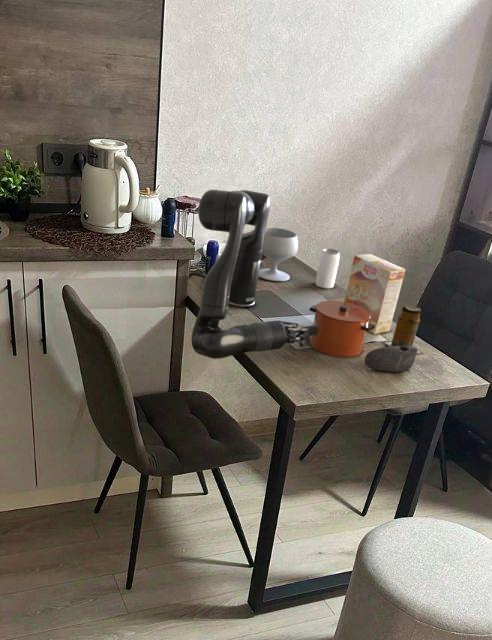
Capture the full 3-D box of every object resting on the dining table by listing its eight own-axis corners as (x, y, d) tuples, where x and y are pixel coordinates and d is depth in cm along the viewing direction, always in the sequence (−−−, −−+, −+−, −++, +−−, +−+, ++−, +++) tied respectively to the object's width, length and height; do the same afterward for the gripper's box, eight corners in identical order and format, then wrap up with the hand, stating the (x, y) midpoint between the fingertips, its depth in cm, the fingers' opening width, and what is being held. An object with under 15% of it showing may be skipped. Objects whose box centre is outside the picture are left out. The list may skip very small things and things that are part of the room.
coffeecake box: (340, 316, 228) (353, 254, 217) (355, 313, 232) (370, 252, 221) (374, 334, 218) (390, 271, 208) (390, 331, 222) (406, 268, 211)
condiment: (403, 341, 217) (414, 302, 210) (421, 353, 211) (433, 313, 204) (384, 343, 214) (394, 304, 207) (401, 355, 207) (413, 315, 201)
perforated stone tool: (364, 373, 194) (371, 349, 190) (359, 364, 198) (364, 341, 194) (417, 375, 197) (424, 352, 193) (410, 367, 201) (417, 344, 197)
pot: (293, 341, 206) (301, 302, 200) (320, 328, 217) (328, 290, 211) (351, 364, 198) (361, 323, 191) (376, 349, 209) (386, 310, 202)
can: (334, 289, 249) (341, 255, 242) (316, 287, 249) (322, 252, 242) (332, 283, 254) (339, 249, 248) (314, 281, 254) (320, 247, 247)
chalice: (264, 283, 246) (271, 239, 237) (246, 270, 256) (252, 226, 248) (299, 282, 251) (307, 239, 243) (280, 269, 261) (287, 226, 253)
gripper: (280, 332, 184) (333, 326, 192) (252, 313, 193) (304, 308, 201) (275, 360, 188) (327, 352, 196) (248, 339, 197) (299, 333, 205)
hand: (315, 330), depth 198 cm, fingers closed
